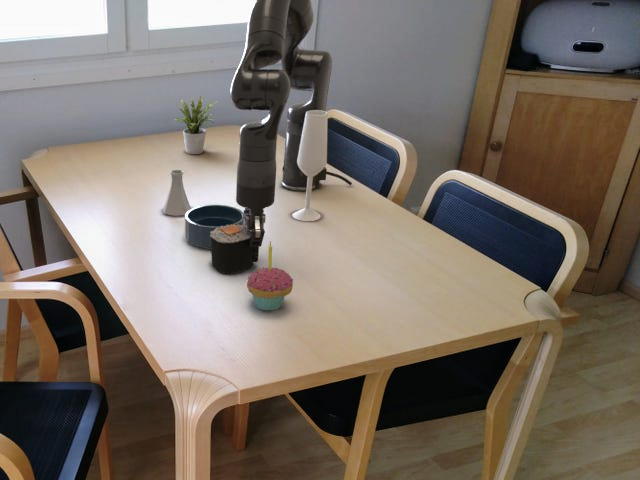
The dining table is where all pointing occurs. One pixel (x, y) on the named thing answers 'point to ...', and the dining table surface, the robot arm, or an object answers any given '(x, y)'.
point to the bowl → (209, 222)
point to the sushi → (231, 249)
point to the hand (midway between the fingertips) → (252, 260)
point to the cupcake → (269, 285)
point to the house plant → (194, 126)
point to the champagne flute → (312, 156)
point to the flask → (176, 196)
